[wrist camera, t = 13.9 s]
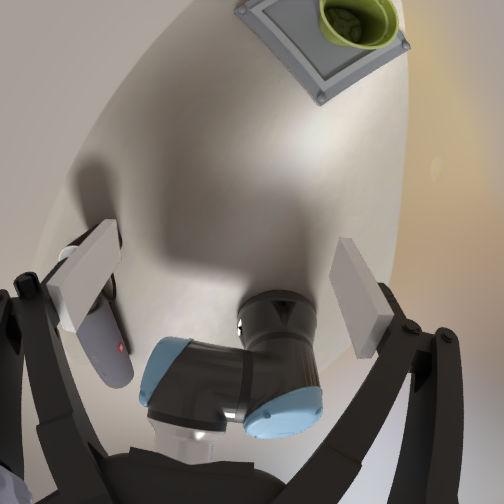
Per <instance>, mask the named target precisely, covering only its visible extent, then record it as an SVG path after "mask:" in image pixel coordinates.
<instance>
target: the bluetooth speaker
mask: <svg viewBox="0 0 504 504" xmlns="http://www.w3.org/2000/svg"><path fill="white" fill-rule="evenodd" d="M76 335H77V337H78V339H79V341H80V343H81V345H82V347H83V349H84V351H85V353H86V355H87V357H88V359H89V360H90V362H91V364H92V365H93V367H94V369H95V370H96V372H97V373H98V375H99V376H100V378H101V379H102V380H103V381H104V383H105V384H106V385H108V386H109V387H111V388H116V389H117V388H123V387H124V386H126V385H127V384H129V383H130V382H131V380H132V379H133V377H134V371H133V366H132V363H131V360H130V357H129V354H128V352H127V349H126V346H125V343H124V341H123V338H122V336H121V333H120V330H119V328H118V325H117V323H116V320H115V318H114V316H113V313H112V311H111V308H110V305H109V303H108V301H107V300H105V299H104V297H103V296H102V294H101V291H100V293H99V295H98V296H97V298H96V300H95V301H94V303H93V305H92V306H91V308H90V310H89V311H88V313H87V315H86V316H85V318H84V320H83V321H82V323H81V325H80V327H79V328H78V330H77V332H76Z"/></svg>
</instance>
